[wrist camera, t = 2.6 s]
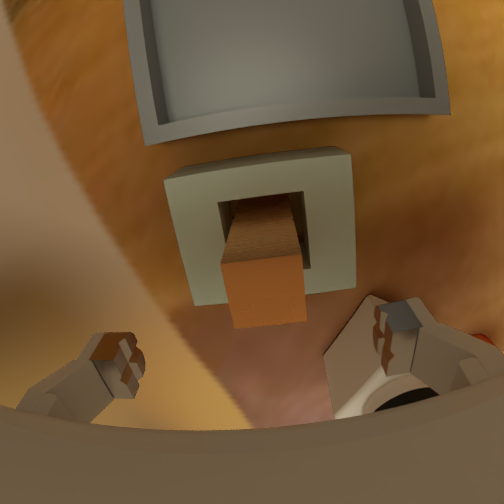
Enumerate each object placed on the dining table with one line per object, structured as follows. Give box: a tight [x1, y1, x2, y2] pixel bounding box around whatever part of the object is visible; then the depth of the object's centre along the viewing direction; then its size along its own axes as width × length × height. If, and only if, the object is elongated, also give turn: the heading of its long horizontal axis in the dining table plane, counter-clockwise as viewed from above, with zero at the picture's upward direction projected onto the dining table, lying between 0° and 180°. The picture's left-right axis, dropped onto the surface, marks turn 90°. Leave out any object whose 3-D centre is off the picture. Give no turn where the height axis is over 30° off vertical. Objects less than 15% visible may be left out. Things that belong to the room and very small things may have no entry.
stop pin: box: [220, 193, 307, 329], centre depth 17 cm, size 3×3×10 cm
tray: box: [123, 0, 451, 146], centre depth 15 cm, size 18×14×3 cm
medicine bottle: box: [323, 295, 439, 419], centre depth 20 cm, size 7×7×12 cm
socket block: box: [163, 146, 356, 306], centre depth 20 cm, size 10×8×4 cm
